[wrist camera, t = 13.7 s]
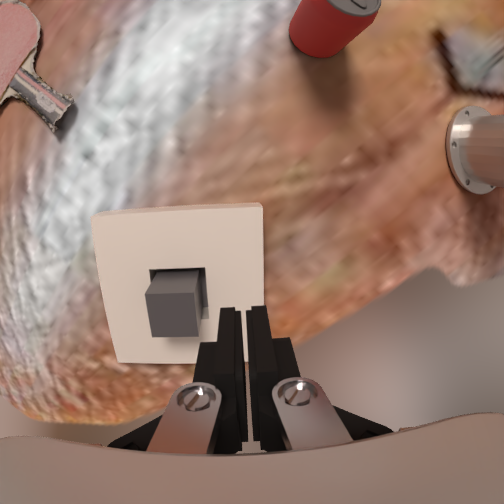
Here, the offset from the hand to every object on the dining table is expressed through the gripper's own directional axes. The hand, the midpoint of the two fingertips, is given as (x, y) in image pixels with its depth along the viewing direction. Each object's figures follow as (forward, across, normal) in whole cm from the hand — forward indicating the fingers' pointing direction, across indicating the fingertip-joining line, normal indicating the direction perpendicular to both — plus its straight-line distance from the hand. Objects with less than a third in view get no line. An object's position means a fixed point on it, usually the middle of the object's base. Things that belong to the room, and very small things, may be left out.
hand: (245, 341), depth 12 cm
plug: (+24, +7, +7) cm, 26 cm away
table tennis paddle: (+24, +31, -24) cm, 46 cm away
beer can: (+26, -10, -21) cm, 35 cm away
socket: (+24, +7, +7) cm, 26 cm away
